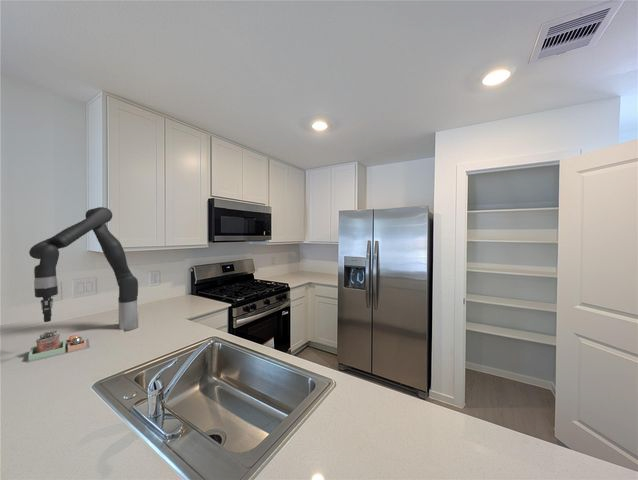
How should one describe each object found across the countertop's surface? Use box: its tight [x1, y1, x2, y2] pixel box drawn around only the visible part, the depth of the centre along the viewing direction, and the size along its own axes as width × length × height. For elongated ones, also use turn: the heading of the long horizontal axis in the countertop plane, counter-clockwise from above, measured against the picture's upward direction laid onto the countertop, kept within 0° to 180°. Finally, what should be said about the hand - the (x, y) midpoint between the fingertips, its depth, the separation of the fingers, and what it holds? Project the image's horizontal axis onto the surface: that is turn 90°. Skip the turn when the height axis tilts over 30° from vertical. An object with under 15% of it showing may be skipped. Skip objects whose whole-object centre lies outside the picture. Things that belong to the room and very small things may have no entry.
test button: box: [68, 334, 80, 342], centre depth 130 cm, size 4×4×4 cm
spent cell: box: [72, 336, 82, 345], centre depth 126 cm, size 3×3×6 cm
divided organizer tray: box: [25, 336, 90, 364], centre depth 124 cm, size 21×14×4 cm, turn 135°
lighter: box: [35, 329, 60, 353], centre depth 121 cm, size 8×3×10 cm, turn 159°
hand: (48, 319), depth 120 cm, fingers open, 8 cm apart
